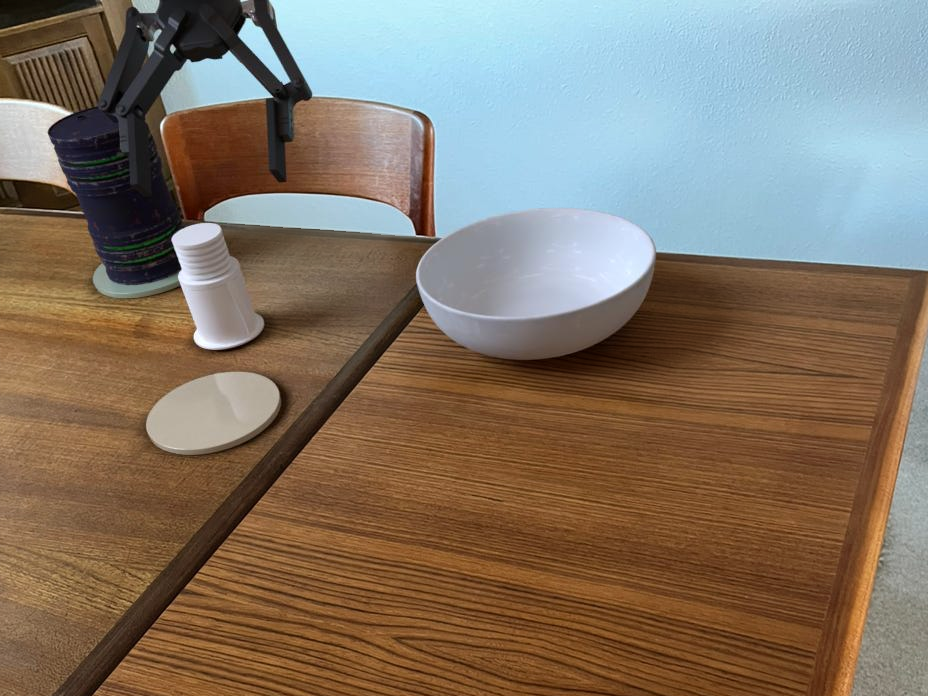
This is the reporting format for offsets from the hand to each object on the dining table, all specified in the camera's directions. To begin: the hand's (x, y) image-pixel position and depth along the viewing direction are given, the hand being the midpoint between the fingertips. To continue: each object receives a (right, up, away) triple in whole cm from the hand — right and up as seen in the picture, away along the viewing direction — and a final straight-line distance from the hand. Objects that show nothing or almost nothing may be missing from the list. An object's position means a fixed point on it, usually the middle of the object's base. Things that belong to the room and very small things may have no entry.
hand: (208, 184), depth 91 cm
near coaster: (+2, -23, -6) cm, 24 cm away
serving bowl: (+31, -15, -2) cm, 35 cm away
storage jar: (-11, -1, +16) cm, 20 cm away
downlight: (+1, -13, +4) cm, 14 cm away
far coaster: (-11, -2, +17) cm, 20 cm away
